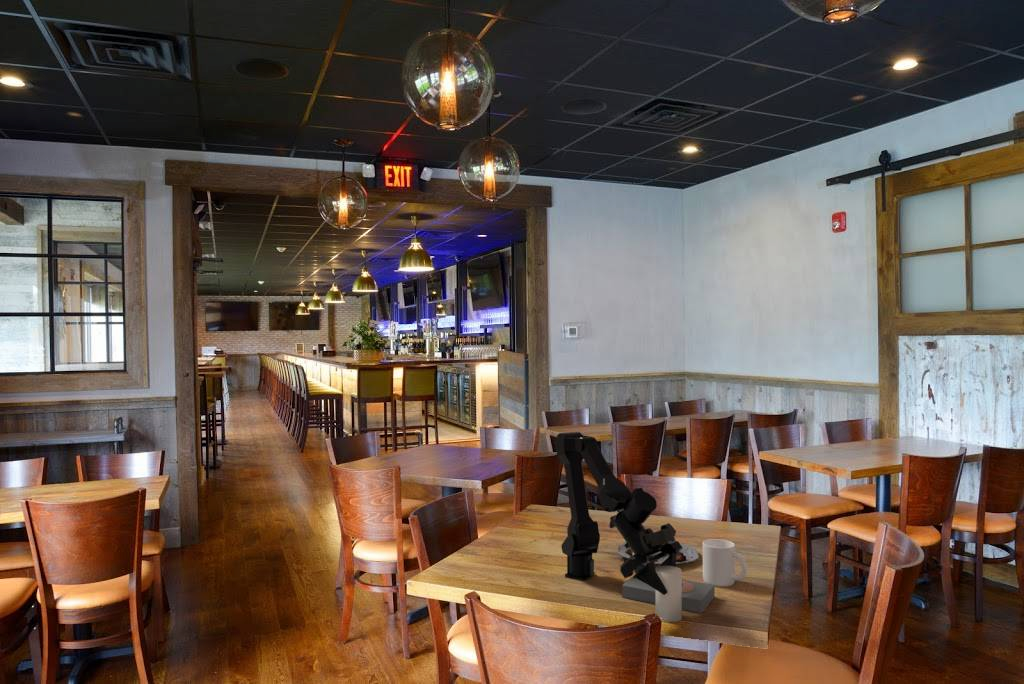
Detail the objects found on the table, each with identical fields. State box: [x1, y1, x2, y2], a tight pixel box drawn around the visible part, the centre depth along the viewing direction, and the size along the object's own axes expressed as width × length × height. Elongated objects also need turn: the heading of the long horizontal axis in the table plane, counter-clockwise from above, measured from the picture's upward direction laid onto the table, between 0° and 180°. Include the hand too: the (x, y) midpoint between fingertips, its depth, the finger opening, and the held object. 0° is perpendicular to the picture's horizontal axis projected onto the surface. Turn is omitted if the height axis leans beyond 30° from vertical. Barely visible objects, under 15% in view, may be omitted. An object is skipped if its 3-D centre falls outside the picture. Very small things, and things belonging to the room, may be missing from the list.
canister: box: [654, 565, 683, 623], centre depth 158 cm, size 6×6×11 cm
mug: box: [702, 538, 748, 588], centre depth 180 cm, size 12×8×10 cm
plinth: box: [621, 576, 716, 614], centre depth 170 cm, size 20×12×3 cm, turn 59°
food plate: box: [617, 541, 699, 566], centre depth 203 cm, size 25×23×4 cm
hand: (673, 590), depth 157 cm, fingers closed on canister, 6 cm apart
